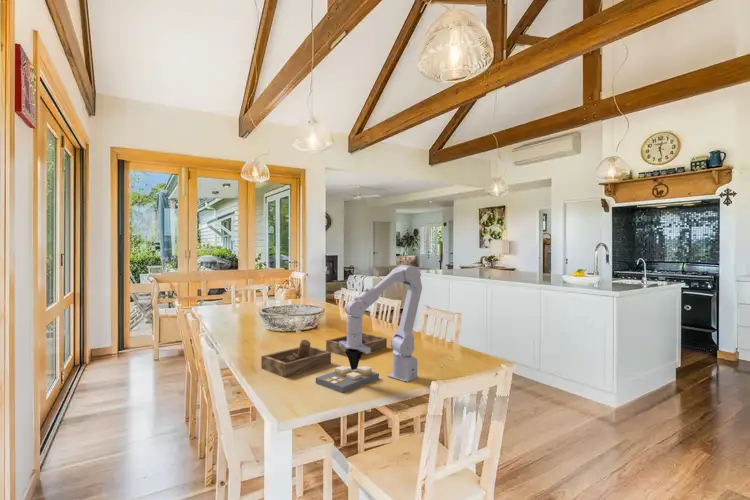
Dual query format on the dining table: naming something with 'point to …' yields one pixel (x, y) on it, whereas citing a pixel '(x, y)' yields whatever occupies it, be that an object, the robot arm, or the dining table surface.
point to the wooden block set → (299, 352)
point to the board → (344, 381)
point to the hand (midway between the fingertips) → (354, 368)
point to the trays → (315, 356)
